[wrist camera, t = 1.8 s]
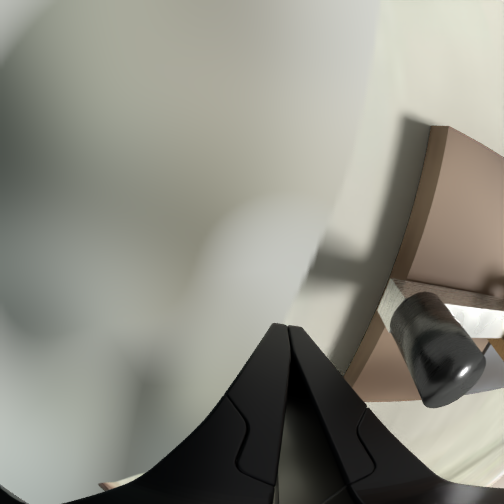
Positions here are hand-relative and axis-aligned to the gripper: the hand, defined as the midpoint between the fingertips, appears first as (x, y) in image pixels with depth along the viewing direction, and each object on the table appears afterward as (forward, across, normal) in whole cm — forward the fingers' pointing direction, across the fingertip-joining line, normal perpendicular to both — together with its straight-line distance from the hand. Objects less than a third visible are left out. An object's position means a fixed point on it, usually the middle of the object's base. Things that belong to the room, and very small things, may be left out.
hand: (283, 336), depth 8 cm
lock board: (+5, -16, 0) cm, 16 cm away
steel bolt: (+3, -8, 0) cm, 9 cm away
